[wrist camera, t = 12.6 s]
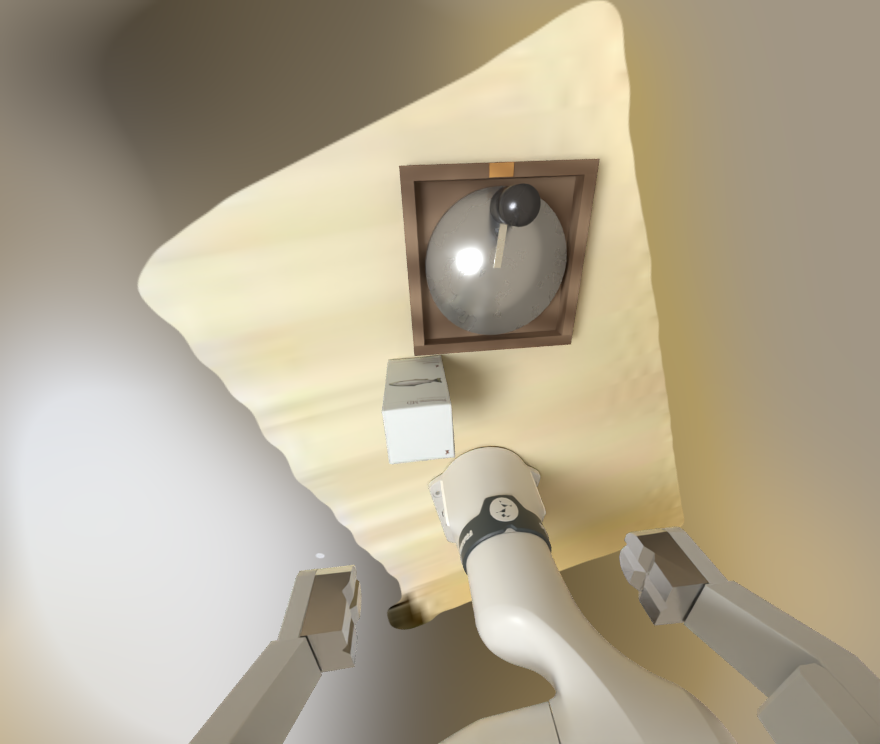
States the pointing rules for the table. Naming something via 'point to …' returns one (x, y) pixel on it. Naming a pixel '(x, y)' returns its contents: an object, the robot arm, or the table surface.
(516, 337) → the dial housing
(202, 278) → the table surface
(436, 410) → the supplement box
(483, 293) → the dial
